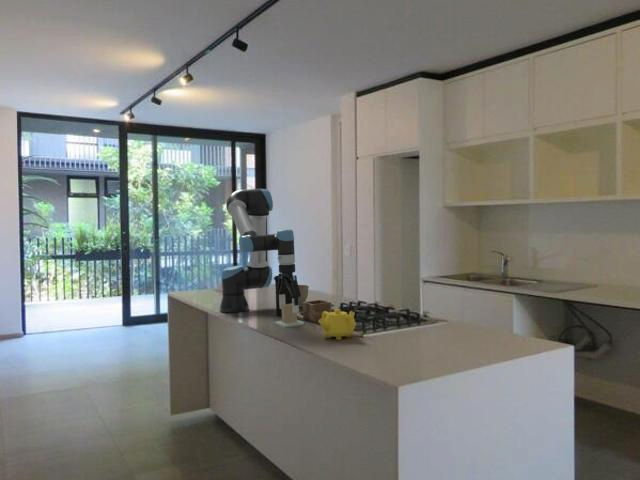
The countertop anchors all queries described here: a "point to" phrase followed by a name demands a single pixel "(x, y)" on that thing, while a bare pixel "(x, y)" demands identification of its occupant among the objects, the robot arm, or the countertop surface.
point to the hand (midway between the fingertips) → (289, 310)
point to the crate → (315, 309)
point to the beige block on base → (288, 317)
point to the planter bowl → (303, 294)
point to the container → (287, 297)
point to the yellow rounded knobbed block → (337, 324)
